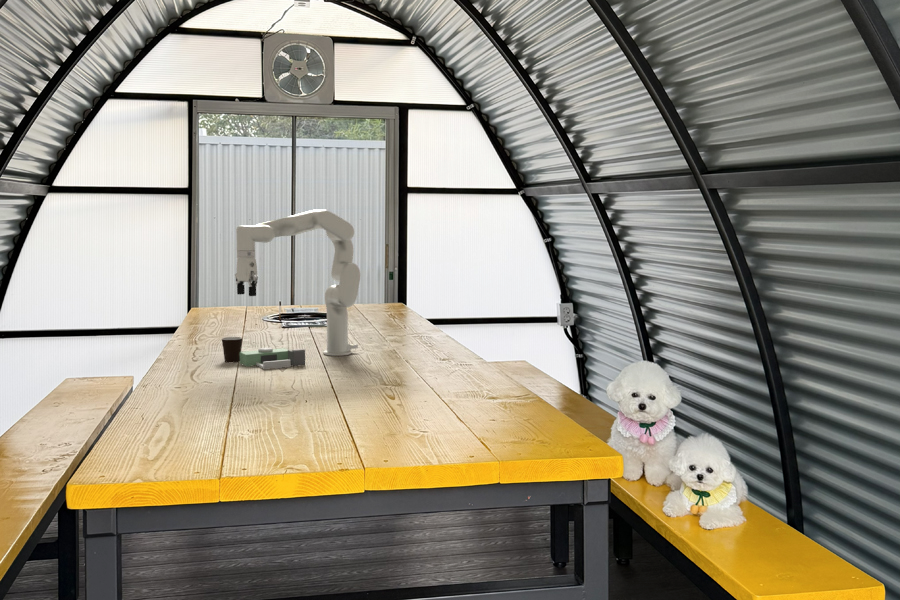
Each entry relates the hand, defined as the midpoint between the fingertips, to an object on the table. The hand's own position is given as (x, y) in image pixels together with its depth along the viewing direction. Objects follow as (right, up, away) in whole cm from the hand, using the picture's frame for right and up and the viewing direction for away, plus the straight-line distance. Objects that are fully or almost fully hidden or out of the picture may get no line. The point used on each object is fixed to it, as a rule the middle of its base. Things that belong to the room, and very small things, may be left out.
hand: (246, 295), depth 341 cm
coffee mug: (-7, -29, +8) cm, 31 cm away
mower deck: (+10, -29, -1) cm, 31 cm away
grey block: (+21, -30, 0) cm, 36 cm away
